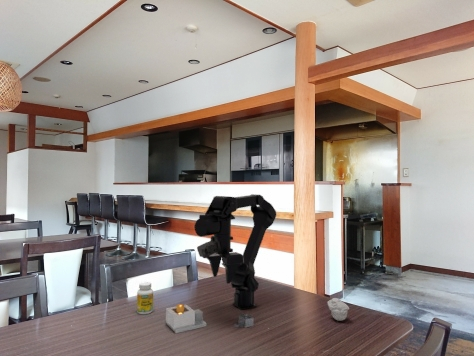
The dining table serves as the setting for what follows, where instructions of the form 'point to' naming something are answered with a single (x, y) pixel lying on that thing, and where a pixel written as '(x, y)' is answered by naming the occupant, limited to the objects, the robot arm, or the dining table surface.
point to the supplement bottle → (145, 298)
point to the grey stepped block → (245, 321)
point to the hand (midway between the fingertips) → (221, 279)
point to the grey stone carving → (338, 309)
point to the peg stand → (198, 320)
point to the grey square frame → (180, 317)
